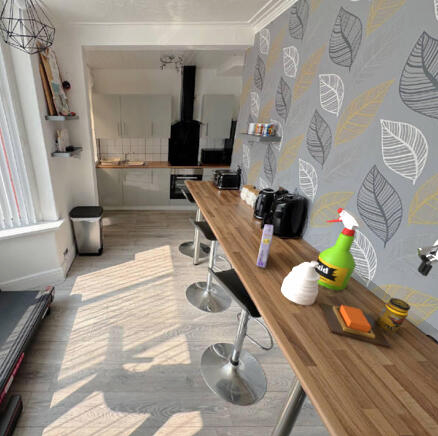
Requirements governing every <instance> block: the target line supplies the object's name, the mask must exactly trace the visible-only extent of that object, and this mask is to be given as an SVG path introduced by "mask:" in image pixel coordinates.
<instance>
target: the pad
mask: <svg viewBox="0 0 438 436" xmlns="http://www.w3.org/2000/svg"><path fill="white" fill-rule="evenodd" d="M340 307H341V308H340V310H339V313H340V315H341V317H342V319H343V321H344V323H345V325H346V327H347V328H351V329H355V330H358V331H362V332H366V333H368V332H369V330H370V328H371V326H370V324H369V323H368V321H367V319H366V318H365V316H364V315H363V313H364V312H363V311H362V310H361V308H356V307H353V306H348V305H344V304H341V306H340Z"/></svg>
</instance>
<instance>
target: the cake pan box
mask: <svg viewBox="0 0 438 436" xmlns="http://www.w3.org/2000/svg"><path fill="white" fill-rule="evenodd" d="M262 230H263V231H262V237H261V241H260V244H259V249H258V255H257V260H256V265H255V266H256V267H258V268H259V267H260V268H263V269H266V267H267V263H268V258H269V255H270V250H271V245H272V242H273V235H274V225H273V224H264V227H263V229H262Z"/></svg>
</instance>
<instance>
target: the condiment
mask: <svg viewBox="0 0 438 436" xmlns="http://www.w3.org/2000/svg"><path fill="white" fill-rule="evenodd" d="M410 309H411V305H410V304H409V303H408V302H406V301H405V300H402V299H400V298H396V297H391V298H390V299H389V300H388V302H386V303H385V304H384V306H383V307H382V309H381V311H380V313H379V315H378V316H377V318H376V320H375V323H376V325H377V326H378V327H379V328H381V329H382V330H384V331H386V332H389V333H397V332H398V330H400V327H401V326H402V325H403V323H404V321H405V320H406V318H407V317H408V315H409V311H410Z"/></svg>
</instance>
